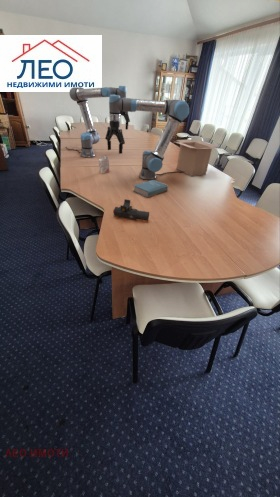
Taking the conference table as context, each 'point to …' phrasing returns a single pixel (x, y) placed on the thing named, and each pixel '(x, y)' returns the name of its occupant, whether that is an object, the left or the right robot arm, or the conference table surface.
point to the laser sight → (130, 212)
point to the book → (150, 188)
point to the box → (194, 157)
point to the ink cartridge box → (104, 164)
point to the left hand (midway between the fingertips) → (122, 128)
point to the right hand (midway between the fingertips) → (114, 151)
